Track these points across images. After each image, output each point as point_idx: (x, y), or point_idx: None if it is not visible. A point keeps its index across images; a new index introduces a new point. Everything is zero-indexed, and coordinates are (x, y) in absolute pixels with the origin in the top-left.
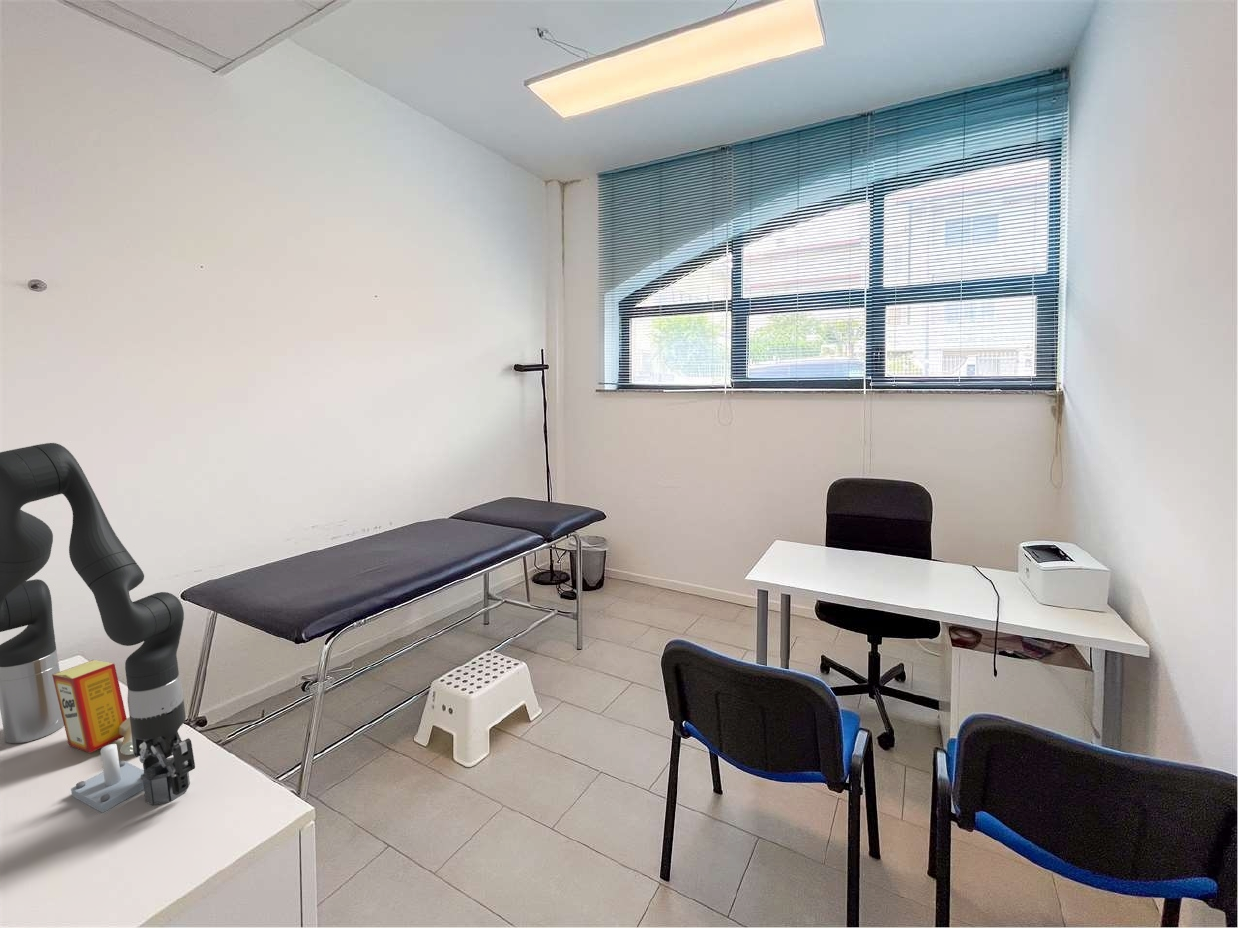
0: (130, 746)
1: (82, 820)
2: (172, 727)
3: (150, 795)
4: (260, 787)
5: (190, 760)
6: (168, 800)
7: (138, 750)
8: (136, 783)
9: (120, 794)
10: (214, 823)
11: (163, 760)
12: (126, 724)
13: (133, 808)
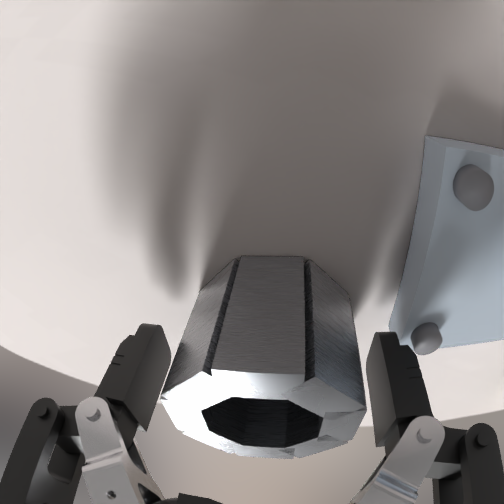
0: None
1: (455, 72)
2: None
3: (244, 288)
4: (74, 374)
5: (52, 466)
6: (200, 293)
7: (464, 473)
8: (426, 302)
9: (430, 234)
10: (9, 277)
11: (91, 497)
12: None
13: (308, 209)
